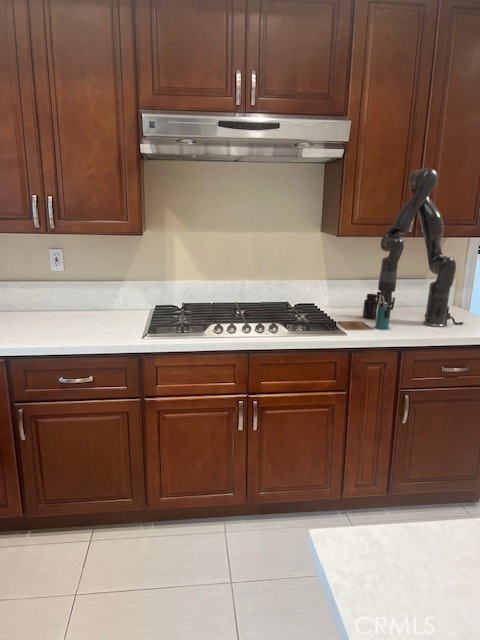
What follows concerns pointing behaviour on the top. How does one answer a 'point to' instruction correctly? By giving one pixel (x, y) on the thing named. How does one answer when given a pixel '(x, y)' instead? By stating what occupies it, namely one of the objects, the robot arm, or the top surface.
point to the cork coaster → (354, 325)
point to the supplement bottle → (370, 306)
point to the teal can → (382, 319)
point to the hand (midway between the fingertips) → (383, 316)
